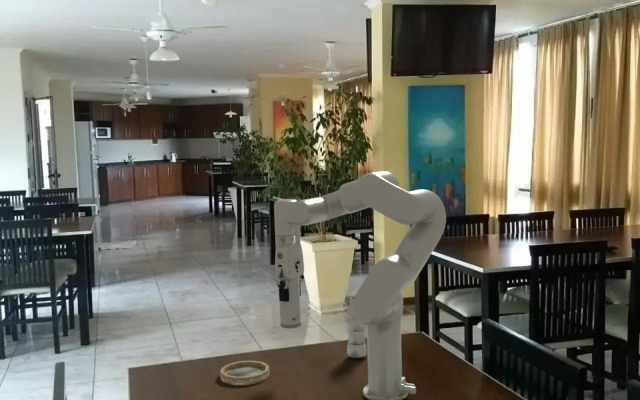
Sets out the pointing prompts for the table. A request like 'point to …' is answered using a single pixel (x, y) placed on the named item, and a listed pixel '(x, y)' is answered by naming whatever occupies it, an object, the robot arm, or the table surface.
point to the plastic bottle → (355, 335)
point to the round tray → (244, 372)
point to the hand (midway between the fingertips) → (290, 298)
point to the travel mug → (291, 304)
